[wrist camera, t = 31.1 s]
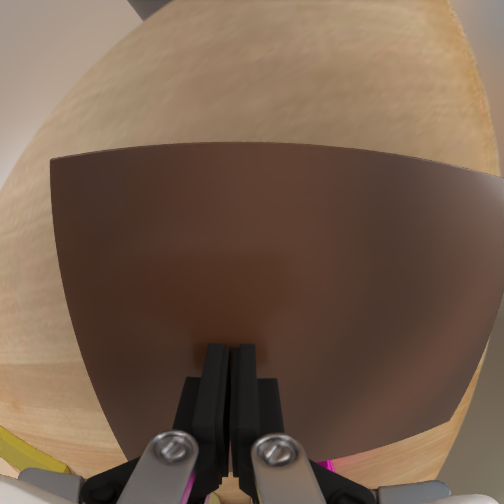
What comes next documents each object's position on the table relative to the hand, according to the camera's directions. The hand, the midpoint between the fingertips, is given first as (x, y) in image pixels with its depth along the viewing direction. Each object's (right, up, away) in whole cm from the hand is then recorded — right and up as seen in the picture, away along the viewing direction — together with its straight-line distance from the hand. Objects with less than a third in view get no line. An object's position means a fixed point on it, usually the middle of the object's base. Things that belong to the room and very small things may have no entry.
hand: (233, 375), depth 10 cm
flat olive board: (-40, -30, +17) cm, 52 cm away
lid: (+4, 0, +1) cm, 4 cm away
